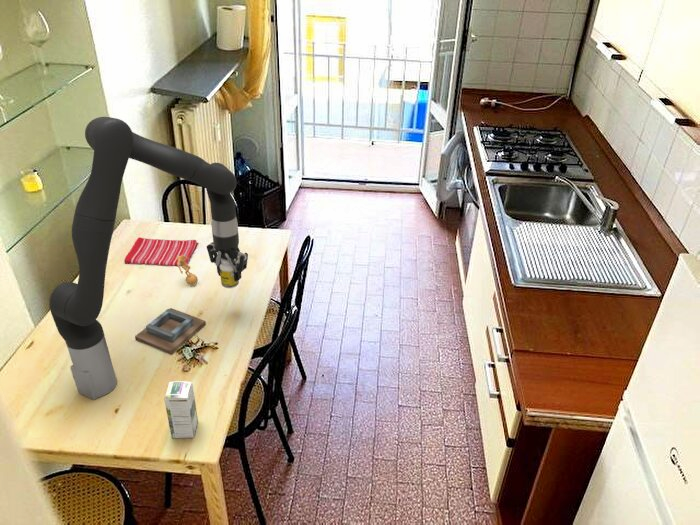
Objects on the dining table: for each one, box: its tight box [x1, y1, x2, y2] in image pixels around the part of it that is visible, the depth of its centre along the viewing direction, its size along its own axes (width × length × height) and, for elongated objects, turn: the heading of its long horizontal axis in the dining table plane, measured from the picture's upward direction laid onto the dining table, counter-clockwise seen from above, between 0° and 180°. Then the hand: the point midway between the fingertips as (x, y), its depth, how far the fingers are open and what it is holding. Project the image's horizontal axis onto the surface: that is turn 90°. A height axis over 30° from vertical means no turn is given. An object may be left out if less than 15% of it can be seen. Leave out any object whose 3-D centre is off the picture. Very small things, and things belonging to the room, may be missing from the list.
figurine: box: [177, 255, 198, 286], centre depth 195 cm, size 8×6×12 cm
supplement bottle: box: [219, 258, 240, 289], centre depth 174 cm, size 5×5×10 cm
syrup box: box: [164, 380, 199, 439], centre depth 141 cm, size 6×6×14 cm
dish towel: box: [123, 236, 199, 267], centre depth 214 cm, size 17×24×3 cm
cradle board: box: [134, 307, 207, 355], centre depth 175 cm, size 16×14×4 cm
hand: (229, 277), depth 176 cm, fingers closed on supplement bottle, 5 cm apart
